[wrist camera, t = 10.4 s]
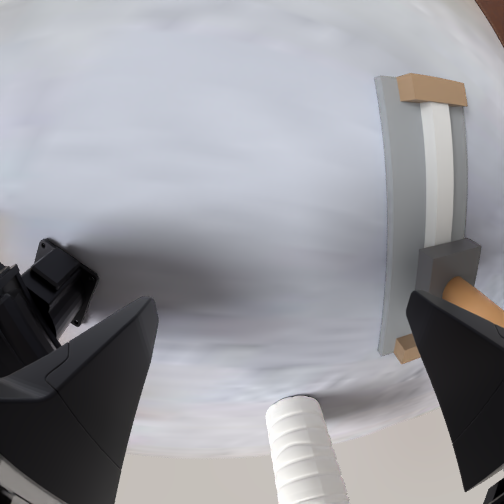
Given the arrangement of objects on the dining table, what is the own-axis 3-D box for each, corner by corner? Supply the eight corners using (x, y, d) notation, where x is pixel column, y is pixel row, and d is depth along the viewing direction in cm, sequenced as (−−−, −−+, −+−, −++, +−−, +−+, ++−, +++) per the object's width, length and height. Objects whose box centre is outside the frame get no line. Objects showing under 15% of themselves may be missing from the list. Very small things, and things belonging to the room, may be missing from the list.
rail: (374, 78, 17) (393, 71, 14) (452, 88, 17) (474, 86, 14) (377, 350, 27) (389, 368, 24) (441, 328, 27) (454, 342, 24)
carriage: (418, 249, 20) (508, 316, 10) (467, 237, 20) (549, 289, 10) (409, 320, 22) (471, 397, 13) (455, 304, 22) (518, 365, 13)
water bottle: (330, 399, 29) (392, 585, 6) (299, 428, 31) (338, 596, 8) (266, 384, 27) (307, 618, 4) (238, 416, 29) (256, 614, 6)
